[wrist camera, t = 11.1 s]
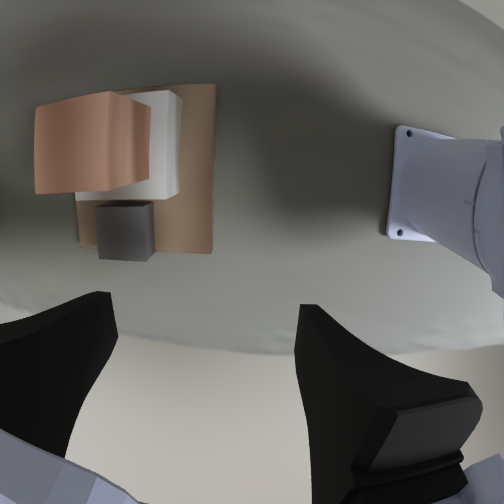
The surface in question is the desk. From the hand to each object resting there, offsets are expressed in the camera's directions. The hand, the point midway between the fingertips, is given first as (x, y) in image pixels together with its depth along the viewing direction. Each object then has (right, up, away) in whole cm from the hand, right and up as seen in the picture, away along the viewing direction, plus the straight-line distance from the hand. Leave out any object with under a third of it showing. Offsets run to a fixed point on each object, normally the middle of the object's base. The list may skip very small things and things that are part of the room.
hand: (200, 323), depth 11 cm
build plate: (-6, +8, +8) cm, 13 cm away
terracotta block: (-6, +9, +4) cm, 11 cm away
